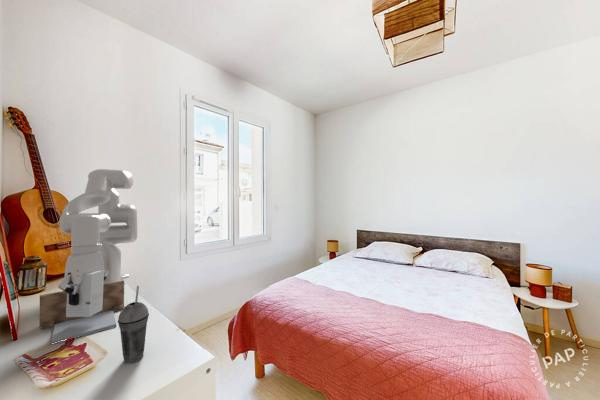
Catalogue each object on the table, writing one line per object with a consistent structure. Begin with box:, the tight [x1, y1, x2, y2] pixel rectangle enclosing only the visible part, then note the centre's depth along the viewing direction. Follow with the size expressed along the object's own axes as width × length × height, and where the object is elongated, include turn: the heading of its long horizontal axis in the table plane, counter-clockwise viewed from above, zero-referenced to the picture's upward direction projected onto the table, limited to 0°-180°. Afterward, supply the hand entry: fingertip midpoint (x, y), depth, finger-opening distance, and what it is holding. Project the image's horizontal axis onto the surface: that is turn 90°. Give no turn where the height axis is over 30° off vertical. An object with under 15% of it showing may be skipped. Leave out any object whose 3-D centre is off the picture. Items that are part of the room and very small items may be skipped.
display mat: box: [50, 310, 117, 343], centre depth 84 cm, size 16×14×1 cm
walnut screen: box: [39, 279, 125, 330], centre depth 93 cm, size 24×6×11 cm, turn 132°
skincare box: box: [66, 270, 104, 318], centre depth 84 cm, size 8×6×15 cm
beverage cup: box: [117, 285, 150, 365], centre depth 68 cm, size 7×7×20 cm
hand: (85, 300), depth 85 cm, fingers closed on skincare box, 6 cm apart
